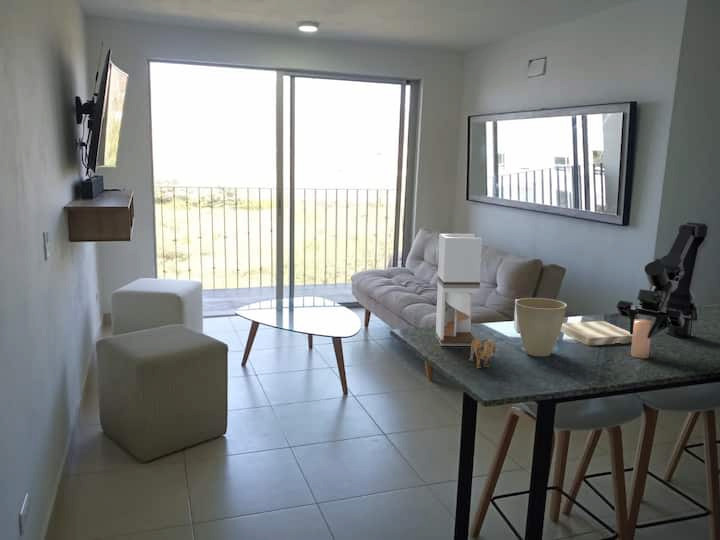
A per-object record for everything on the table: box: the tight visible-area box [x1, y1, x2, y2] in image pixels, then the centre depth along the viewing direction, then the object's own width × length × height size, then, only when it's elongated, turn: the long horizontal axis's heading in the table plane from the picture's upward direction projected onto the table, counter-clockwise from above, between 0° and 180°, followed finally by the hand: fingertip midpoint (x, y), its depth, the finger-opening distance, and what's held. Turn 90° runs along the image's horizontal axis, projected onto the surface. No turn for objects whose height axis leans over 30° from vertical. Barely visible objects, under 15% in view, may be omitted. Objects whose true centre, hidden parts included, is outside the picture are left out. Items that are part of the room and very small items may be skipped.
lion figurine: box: [467, 338, 499, 369], centre depth 168 cm, size 15×5×9 cm, turn 15°
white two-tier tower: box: [435, 233, 483, 347], centre depth 187 cm, size 11×11×35 cm
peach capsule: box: [630, 318, 653, 359], centre depth 177 cm, size 5×5×11 cm
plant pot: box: [516, 297, 567, 358], centre depth 178 cm, size 15×15×16 cm
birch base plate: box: [560, 320, 633, 346], centre depth 198 cm, size 18×18×2 cm
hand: (639, 335), depth 176 cm, fingers closed on peach capsule, 5 cm apart
